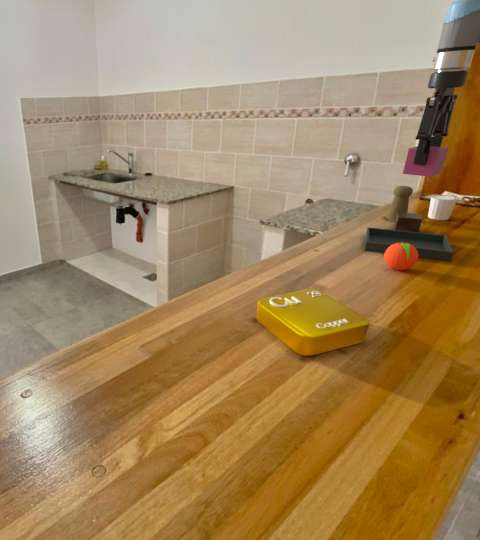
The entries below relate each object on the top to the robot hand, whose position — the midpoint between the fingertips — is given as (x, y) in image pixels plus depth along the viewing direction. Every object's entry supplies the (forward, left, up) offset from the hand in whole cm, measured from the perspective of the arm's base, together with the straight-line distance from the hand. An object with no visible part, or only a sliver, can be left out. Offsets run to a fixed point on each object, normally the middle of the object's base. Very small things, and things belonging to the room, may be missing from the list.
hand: (424, 162), depth 107 cm
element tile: (+18, +66, -22) cm, 72 cm away
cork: (+2, -20, -22) cm, 30 cm away
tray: (+1, +10, -22) cm, 24 cm away
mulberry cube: (0, 0, -3) cm, 3 cm away
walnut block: (0, -6, -22) cm, 23 cm away
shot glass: (-10, -25, -22) cm, 35 cm away
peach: (+3, +28, -22) cm, 36 cm away
